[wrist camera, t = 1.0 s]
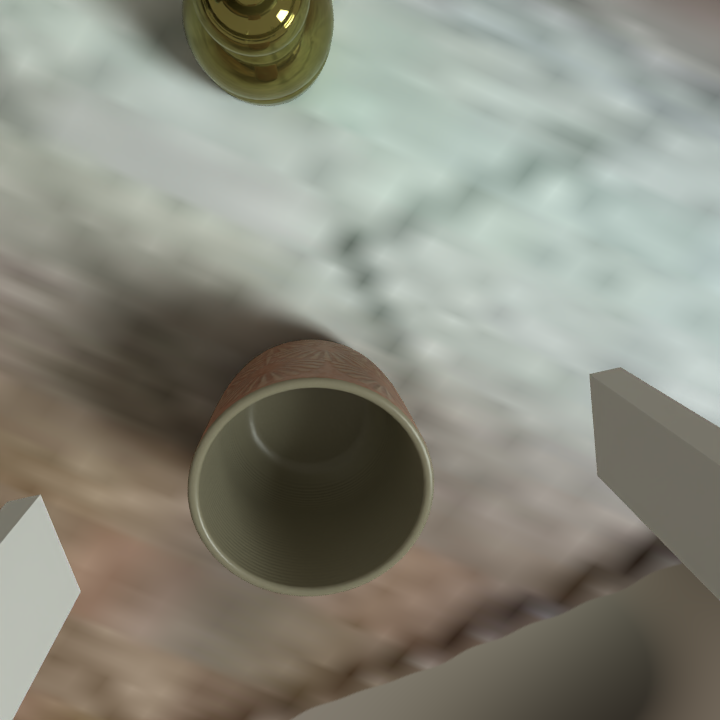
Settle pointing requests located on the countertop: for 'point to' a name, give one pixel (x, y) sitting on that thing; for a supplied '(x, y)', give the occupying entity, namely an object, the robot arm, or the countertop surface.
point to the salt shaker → (260, 45)
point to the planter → (310, 472)
